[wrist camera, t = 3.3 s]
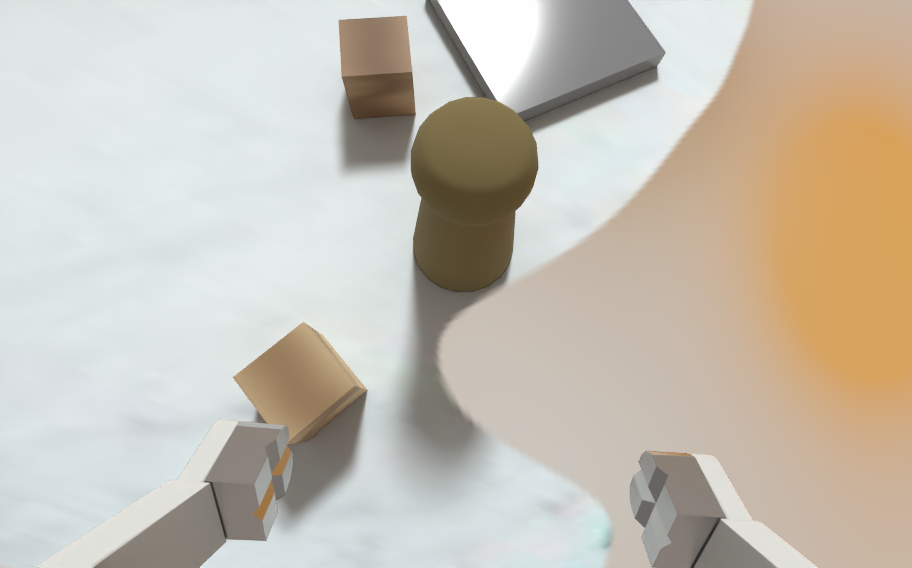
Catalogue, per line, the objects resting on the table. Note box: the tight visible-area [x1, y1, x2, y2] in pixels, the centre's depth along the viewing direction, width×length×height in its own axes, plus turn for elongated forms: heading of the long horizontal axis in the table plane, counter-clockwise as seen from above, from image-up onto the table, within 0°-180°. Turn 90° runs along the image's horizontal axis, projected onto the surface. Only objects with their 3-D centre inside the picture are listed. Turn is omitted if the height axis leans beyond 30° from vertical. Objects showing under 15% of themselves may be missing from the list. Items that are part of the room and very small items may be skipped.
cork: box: [411, 97, 538, 292], centre depth 23 cm, size 6×6×11 cm
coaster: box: [429, 0, 666, 121], centre depth 32 cm, size 12×12×1 cm
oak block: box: [233, 322, 367, 445], centre depth 23 cm, size 4×4×4 cm
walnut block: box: [339, 16, 416, 119], centre depth 29 cm, size 4×4×4 cm
